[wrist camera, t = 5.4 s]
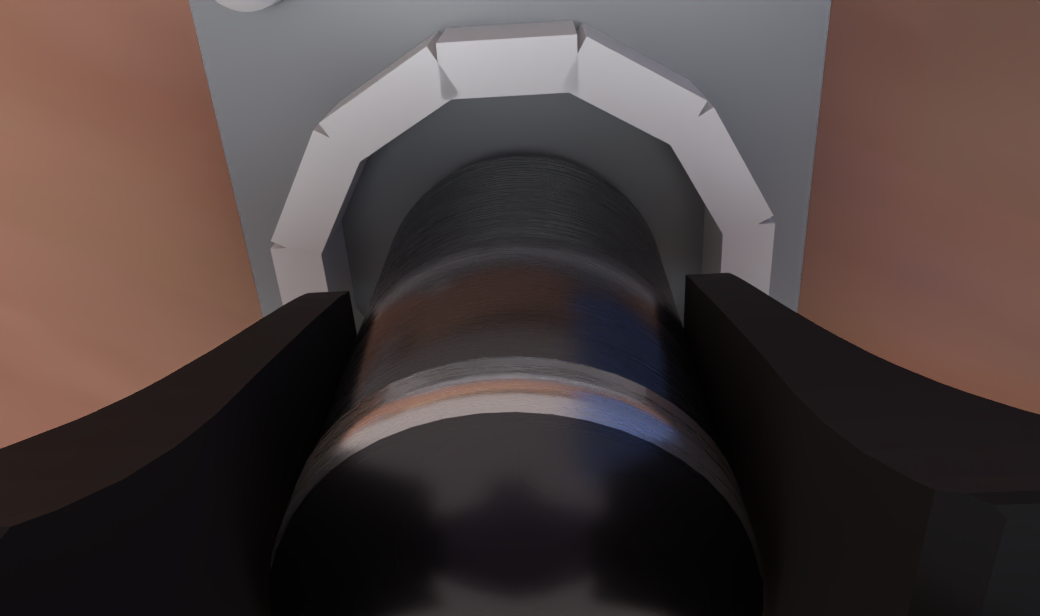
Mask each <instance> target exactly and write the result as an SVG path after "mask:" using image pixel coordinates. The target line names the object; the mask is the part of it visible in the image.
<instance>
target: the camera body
mask: <svg viewBox="0 0 1040 616" xmlns="http://www.w3.org/2000/svg"><path fill="white" fill-rule="evenodd" d="M189 4H190V8H191V12H192V16H193V21H194V25H195V29H196V33H197V38H198V42H199V46H200V51H201V55H202V59H203V63H204V68H205V72H206V76H207V80H208V85H209V89H210V93H211V97H212V102H213V106H214V110H215V115H216V119H217V123H218V127H219V132H220V136H221V140H222V144H223V149H224V153H225V157H226V162H227V166H228V170H229V174H230V179H231V183H232V187H233V191H234V196H235V200H236V204H237V208H238V213H239V217H240V221H241V226H242V230H243V234H244V238H245V243H246V247H247V251H248V255H249V260H250V264H251V268H252V272H253V277H254V281H255V285H256V290H257V294H258V298H259V302H260V307H261V311H262V315H263V318H264V317H265V316H267V315H268V314H270V313H272V312H273V311H275V310H276V309H278V308H280V307H281V306H283V305H285V304H286V303H288V302H290V301H292V300H293V299H295V298H297V297H299V296H302V295H304V294H306V293H315V292H336V291H349V292H350V298H351V304H352V309H353V315H354V321H355V326H356V332H357V335H358V332H359V329H360V327H361V324H362V321H363V319H364V316H365V313H366V311H367V308H368V305H369V303H370V300H371V297H372V295H373V292H374V289H375V287H376V284H377V281H378V279H379V276H380V273H381V271H382V268H383V265H384V263H385V260H386V257H387V255H388V252H389V249H390V247H391V244H392V241H393V239H394V237H395V235H396V232H397V230H398V228H399V226H400V224H401V222H402V221H403V219H404V218H405V216H406V215H407V213H408V211H409V210H410V209H411V208H412V206H413V205H414V204H415V203H416V202H417V201H418V200H419V198H420V197H421V196H422V195H423V194H425V193H426V192H427V191H428V190H429V189H430V188H432V187H433V186H434V185H435V184H437V183H438V182H440V181H441V180H443V179H444V178H446V177H447V176H449V175H451V174H453V173H455V172H457V171H459V170H461V169H463V168H465V167H468V166H470V165H474V164H477V163H480V162H483V161H486V160H492V159H497V158H502V157H514V156H533V157H545V158H550V159H555V160H560V161H565V162H568V163H570V164H573V165H576V166H579V167H582V168H584V169H586V170H588V171H590V172H592V173H594V174H596V175H598V176H600V177H602V178H603V179H605V180H606V181H608V182H609V183H611V184H612V185H614V186H615V187H616V188H617V189H618V190H619V191H621V192H622V193H623V194H624V195H625V196H626V197H627V198H628V199H629V200H630V201H631V202H632V203H633V204H634V206H635V207H636V208H637V209H638V210H639V212H640V213H641V215H642V216H643V218H644V219H645V221H646V223H647V224H648V226H649V228H650V230H651V232H652V234H653V237H654V239H655V241H656V244H657V247H658V250H659V253H660V257H661V260H662V263H663V266H664V269H665V272H666V275H667V279H668V282H669V285H670V288H671V291H672V294H673V298H674V301H675V304H676V307H677V310H678V313H679V316H680V320H681V323H682V326H683V329H684V303H685V275H691V274H712V273H731V274H733V275H735V276H737V277H739V278H741V279H743V280H745V281H746V282H748V283H750V284H751V285H753V286H754V287H756V288H758V289H759V290H761V291H762V292H764V293H766V294H767V295H769V296H770V297H772V298H774V299H775V300H777V301H778V302H780V303H782V304H783V305H785V306H786V307H788V308H790V309H791V310H793V311H795V312H796V313H797V312H798V302H799V293H800V284H801V275H802V265H803V256H804V247H805V238H806V229H807V219H808V210H809V201H810V192H811V182H812V173H813V164H814V155H815V145H816V136H817V127H818V118H819V108H820V99H821V90H822V81H823V71H824V62H825V53H826V44H827V34H828V25H829V16H830V7H831V0H189Z"/></svg>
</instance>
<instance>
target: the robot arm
mask: <svg viewBox="0 0 1040 616" xmlns="http://www.w3.org/2000/svg"><path fill="white" fill-rule="evenodd" d="M684 332H685V335H686V339H687V342H688V345H689V348H690V351H691V354H692V357H693V361H694V364H695V367H696V370H697V373H698V376H699V380H700V383H701V386H702V389H703V392H704V395H705V398H706V402H707V405H708V408H709V411H710V414H711V417H712V421H713V424H714V427H715V430H716V433H717V436H718V440H719V443H720V446H721V449H722V452H723V455H724V457H725V458H726V460H727V461H728V464H729V466H730V468H731V470H732V472H733V474H734V477H735V479H736V481H737V483H738V486H739V489H740V492H741V495H742V498H743V502H744V505H745V508H746V511H747V514H748V517H749V520H750V523H751V526H752V529H753V532H754V535H755V538H756V542H757V546H758V549H759V553H760V557H761V561H762V567H763V582H764V590H763V600H764V606H763V614H762V616H1040V415H1039V414H1035V413H1031V412H1028V411H1024V410H1021V409H1017V408H1014V407H1011V406H1008V405H1005V404H1001V403H998V402H995V401H992V400H989V399H986V398H982V397H979V396H976V395H973V394H970V393H967V392H964V391H961V390H958V389H955V388H953V387H950V386H947V385H944V384H942V383H939V382H936V381H934V380H931V379H929V378H927V377H924V376H922V375H919V374H917V373H914V372H912V371H909V370H907V369H905V368H902V367H900V366H897V365H895V364H893V363H890V362H888V361H886V360H884V359H882V358H879V357H877V356H875V355H873V354H871V353H869V352H867V351H865V350H863V349H861V348H859V347H857V346H855V345H853V344H852V343H850V342H848V341H846V340H844V339H842V338H840V337H838V336H836V335H834V334H832V333H831V332H829V331H827V330H825V329H824V328H822V327H820V326H818V325H816V324H815V323H813V322H811V321H810V320H808V319H806V318H805V317H803V316H801V315H800V314H798V313H796V312H795V311H793V310H791V309H790V308H788V307H786V306H785V305H783V304H782V303H780V302H778V301H777V300H775V299H774V298H772V297H770V296H769V295H767V294H766V293H764V292H762V291H761V290H759V289H758V288H756V287H754V286H753V285H751V284H750V283H748V282H746V281H745V280H743V279H741V278H739V277H737V276H735V275H733V274H731V273H712V274H691V275H685V303H684ZM356 337H357V332H356V326H355V321H354V315H353V309H352V304H351V298H350V292H349V291H336V292H315V293H306V294H304V295H302V296H299V297H297V298H295V299H293V300H292V301H290V302H288V303H286V304H285V305H283V306H281V307H280V308H278V309H276V310H275V311H273V312H272V313H270V314H268V315H267V316H265V317H264V318H262V319H261V320H259V321H257V322H256V323H254V324H253V325H251V326H250V327H248V328H246V329H245V330H243V331H242V332H240V333H239V334H237V335H235V336H234V337H232V338H231V339H229V340H227V341H226V342H224V343H223V344H221V345H220V346H218V347H216V348H215V349H213V350H211V351H210V352H208V353H206V354H204V355H203V356H201V357H199V358H197V359H196V360H194V361H192V362H191V363H189V364H187V365H185V366H184V367H182V368H180V369H178V370H177V371H175V372H173V373H171V374H170V375H168V376H166V377H165V378H163V379H161V380H159V381H157V382H155V383H154V384H152V385H150V386H148V387H146V388H144V389H142V390H140V391H138V392H136V393H134V394H132V395H130V396H128V397H126V398H124V399H122V400H119V401H117V402H115V403H113V404H111V405H109V406H106V407H104V408H102V409H100V410H98V411H96V412H93V413H91V414H89V415H87V416H84V417H82V418H80V419H77V420H75V421H72V422H70V423H67V424H64V425H62V426H59V427H57V428H54V429H51V430H49V431H46V432H44V433H41V434H38V435H36V436H33V437H31V438H28V439H25V440H23V441H20V442H17V443H15V444H12V445H10V446H7V447H4V448H2V449H0V616H271V610H270V601H269V587H270V567H271V555H272V552H273V548H274V544H275V540H276V537H277V533H278V530H279V528H280V525H281V523H282V520H283V517H284V515H285V512H286V509H287V507H288V504H289V502H290V499H291V496H292V494H293V491H294V489H295V486H296V483H297V481H298V478H299V476H300V474H301V472H302V469H303V467H304V465H305V463H306V461H307V459H308V457H309V455H310V453H311V452H312V451H313V449H314V448H315V446H316V444H317V441H318V439H319V436H320V433H321V431H322V428H323V425H324V423H325V420H326V417H327V415H328V412H329V409H330V407H331V404H332V401H333V399H334V396H335V393H336V391H337V388H338V385H339V383H340V380H341V377H342V375H343V372H344V369H345V367H346V364H347V361H348V359H349V356H350V353H351V351H352V348H353V345H354V343H355V340H356Z"/></svg>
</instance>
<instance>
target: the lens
mask: <svg viewBox="0 0 1040 616" xmlns="http://www.w3.org/2000/svg"><path fill="white" fill-rule="evenodd" d="M763 590H764V582H763V567H762V561H761V557H760V553H759V549H758V546H757V542H756V538H755V535H754V532H753V529H752V526H751V523H750V520H749V517H748V514H747V511H746V508H745V505H744V502H743V498H742V495H741V492H740V489H739V486H738V483H737V481H736V479H735V477H734V474H733V472H732V470H731V468H730V466H729V464H728V461H727V460H726V458H725V457H724V455H723V452H722V449H721V446H720V443H719V440H718V436H717V433H716V430H715V427H714V424H713V421H712V417H711V414H710V411H709V408H708V405H707V402H706V398H705V395H704V392H703V389H702V386H701V383H700V380H699V376H698V373H697V370H696V367H695V364H694V361H693V357H692V354H691V351H690V348H689V345H688V342H687V339H686V335H685V332H684V329H683V326H682V323H681V320H680V316H679V313H678V310H677V307H676V304H675V301H674V298H673V294H672V291H671V288H670V285H669V282H668V279H667V275H666V272H665V269H664V266H663V263H662V260H661V257H660V253H659V250H658V247H657V244H656V241H655V239H654V237H653V234H652V232H651V230H650V228H649V226H648V224H647V223H646V221H645V219H644V218H643V216H642V215H641V213H640V212H639V210H638V209H637V208H636V207H635V206H634V204H633V203H632V202H631V201H630V200H629V199H628V198H627V197H626V196H625V195H624V194H623V193H622V192H621V191H619V190H618V189H617V188H616V187H615V186H614V185H612V184H611V183H609V182H608V181H606V180H605V179H603V178H602V177H600V176H598V175H596V174H594V173H592V172H590V171H588V170H586V169H584V168H582V167H579V166H576V165H573V164H570V163H568V162H565V161H560V160H555V159H550V158H545V157H533V156H514V157H502V158H497V159H492V160H486V161H483V162H480V163H477V164H474V165H470V166H468V167H465V168H463V169H461V170H459V171H457V172H455V173H453V174H451V175H449V176H447V177H446V178H444V179H443V180H441V181H440V182H438V183H437V184H435V185H434V186H433V187H432V188H430V189H429V190H428V191H427V192H426V193H425V194H423V195H422V196H421V197H420V198H419V200H418V201H417V202H416V203H415V204H414V205H413V206H412V208H411V209H410V210H409V211H408V213H407V215H406V216H405V218H404V219H403V221H402V222H401V224H400V226H399V228H398V230H397V232H396V235H395V237H394V239H393V241H392V244H391V247H390V249H389V252H388V255H387V257H386V260H385V263H384V265H383V268H382V271H381V273H380V276H379V279H378V281H377V284H376V287H375V289H374V292H373V295H372V297H371V300H370V303H369V305H368V308H367V311H366V313H365V316H364V319H363V321H362V324H361V327H360V329H359V332H358V335H357V337H356V340H355V343H354V345H353V348H352V351H351V353H350V356H349V359H348V361H347V364H346V367H345V369H344V372H343V375H342V377H341V380H340V383H339V385H338V388H337V391H336V393H335V396H334V399H333V401H332V404H331V407H330V409H329V412H328V415H327V417H326V420H325V423H324V425H323V428H322V431H321V433H320V436H319V439H318V441H317V444H316V446H315V448H314V449H313V451H312V452H311V453H310V455H309V457H308V459H307V461H306V463H305V465H304V467H303V469H302V472H301V474H300V476H299V478H298V481H297V483H296V486H295V489H294V491H293V494H292V496H291V499H290V502H289V504H288V507H287V509H286V512H285V515H284V517H283V520H282V523H281V525H280V528H279V530H278V533H277V537H276V540H275V544H274V548H273V552H272V555H271V567H270V587H269V601H270V610H271V616H762V614H763V606H764V600H763Z"/></svg>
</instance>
